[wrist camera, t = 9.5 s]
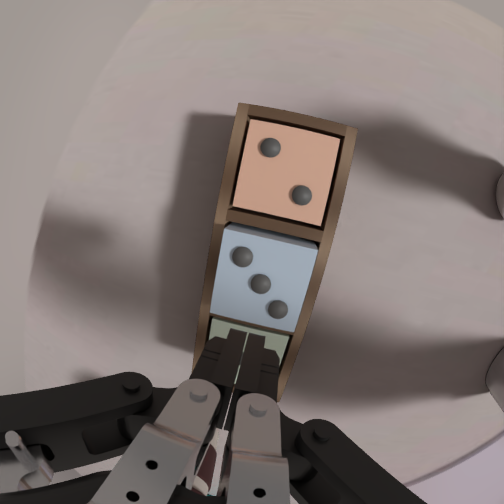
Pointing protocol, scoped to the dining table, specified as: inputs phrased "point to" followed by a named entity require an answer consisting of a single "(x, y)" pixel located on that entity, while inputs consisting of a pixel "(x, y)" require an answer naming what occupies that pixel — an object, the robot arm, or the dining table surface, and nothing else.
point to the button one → (272, 339)
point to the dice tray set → (276, 221)
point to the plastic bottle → (500, 195)
